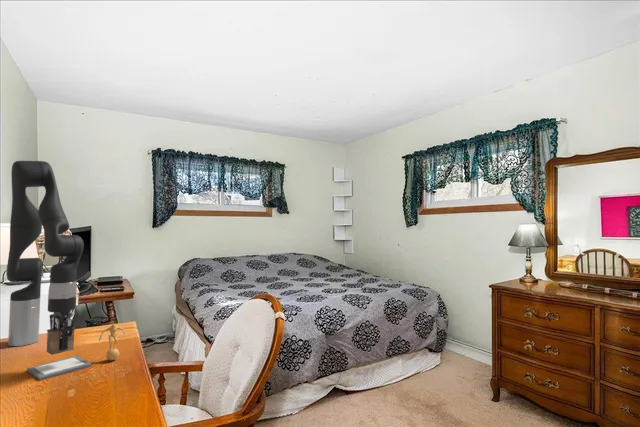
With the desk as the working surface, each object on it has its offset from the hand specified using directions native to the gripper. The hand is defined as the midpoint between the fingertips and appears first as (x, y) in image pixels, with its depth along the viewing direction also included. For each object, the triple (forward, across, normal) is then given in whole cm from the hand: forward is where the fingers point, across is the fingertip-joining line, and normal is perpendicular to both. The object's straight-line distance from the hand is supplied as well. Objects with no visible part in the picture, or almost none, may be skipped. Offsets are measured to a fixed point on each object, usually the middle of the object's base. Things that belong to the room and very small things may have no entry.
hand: (60, 348), depth 116 cm
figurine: (+7, +5, +14) cm, 16 cm away
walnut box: (+1, 0, 0) cm, 1 cm away
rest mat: (+7, 0, 0) cm, 7 cm away
